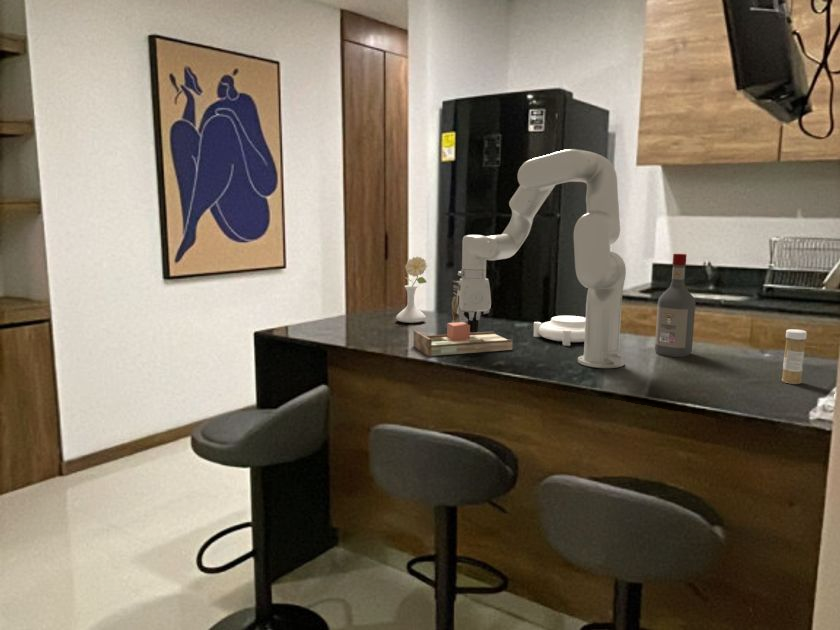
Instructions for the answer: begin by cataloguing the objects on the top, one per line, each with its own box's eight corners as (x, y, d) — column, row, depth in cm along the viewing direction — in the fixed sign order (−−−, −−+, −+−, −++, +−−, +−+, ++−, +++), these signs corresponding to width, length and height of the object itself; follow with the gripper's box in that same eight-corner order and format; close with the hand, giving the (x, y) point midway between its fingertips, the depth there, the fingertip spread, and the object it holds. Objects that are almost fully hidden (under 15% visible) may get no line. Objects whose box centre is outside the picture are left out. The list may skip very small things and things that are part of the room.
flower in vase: (389, 322, 249) (389, 256, 244) (408, 318, 258) (408, 254, 253) (417, 326, 241) (417, 258, 237) (435, 322, 250) (436, 256, 245)
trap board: (512, 349, 204) (512, 333, 203) (428, 356, 195) (428, 339, 194) (493, 340, 217) (493, 325, 216) (413, 346, 208) (413, 330, 207)
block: (469, 339, 207) (469, 325, 206) (453, 340, 205) (453, 326, 205) (463, 335, 212) (463, 322, 211) (447, 336, 210) (447, 323, 210)
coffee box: (450, 323, 247) (451, 280, 244) (466, 322, 249) (467, 280, 246) (459, 328, 239) (459, 283, 236) (475, 327, 241) (476, 283, 238)
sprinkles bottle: (784, 378, 171) (789, 328, 169) (803, 382, 168) (809, 330, 166) (778, 382, 168) (783, 330, 166) (798, 385, 165) (804, 332, 163)
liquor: (681, 358, 193) (689, 255, 188) (651, 353, 199) (658, 254, 194) (694, 353, 200) (701, 254, 195) (664, 348, 206) (671, 252, 201)
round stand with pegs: (528, 344, 213) (528, 322, 212) (538, 330, 236) (538, 311, 235) (605, 349, 206) (606, 327, 205) (607, 335, 229) (609, 314, 228)
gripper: (456, 276, 201) (455, 335, 204) (500, 275, 206) (499, 332, 209) (447, 274, 208) (446, 331, 211) (490, 272, 213) (489, 328, 216)
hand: (472, 331), depth 210 cm, fingers closed
